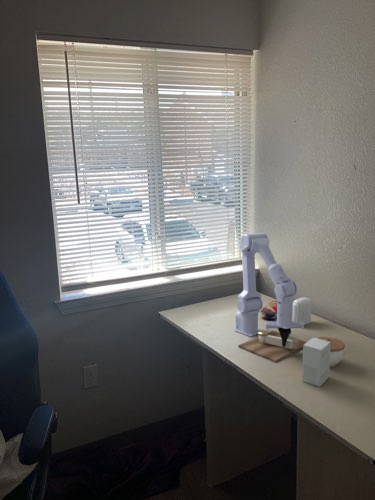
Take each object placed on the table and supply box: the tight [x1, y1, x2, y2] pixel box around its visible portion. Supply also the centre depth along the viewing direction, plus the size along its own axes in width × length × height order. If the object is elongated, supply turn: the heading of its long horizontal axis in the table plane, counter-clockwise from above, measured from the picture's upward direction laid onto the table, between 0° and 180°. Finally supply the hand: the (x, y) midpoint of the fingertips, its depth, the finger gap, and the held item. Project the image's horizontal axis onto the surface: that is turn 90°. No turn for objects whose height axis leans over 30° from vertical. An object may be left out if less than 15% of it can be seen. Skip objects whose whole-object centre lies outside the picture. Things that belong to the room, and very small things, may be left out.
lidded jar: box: [317, 336, 346, 367], centre depth 148 cm, size 11×11×9 cm
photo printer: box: [292, 296, 313, 326], centre depth 184 cm, size 10×4×12 cm, turn 123°
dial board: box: [237, 330, 308, 363], centre depth 163 cm, size 18×22×1 cm
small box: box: [301, 337, 331, 388], centre depth 136 cm, size 8×6×13 cm
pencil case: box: [259, 300, 277, 320], centre depth 198 cm, size 11×20×5 cm, turn 132°
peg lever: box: [257, 329, 292, 349], centre depth 161 cm, size 14×4×4 cm, turn 56°
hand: (283, 345), depth 157 cm, fingers closed, pressing on peg lever
